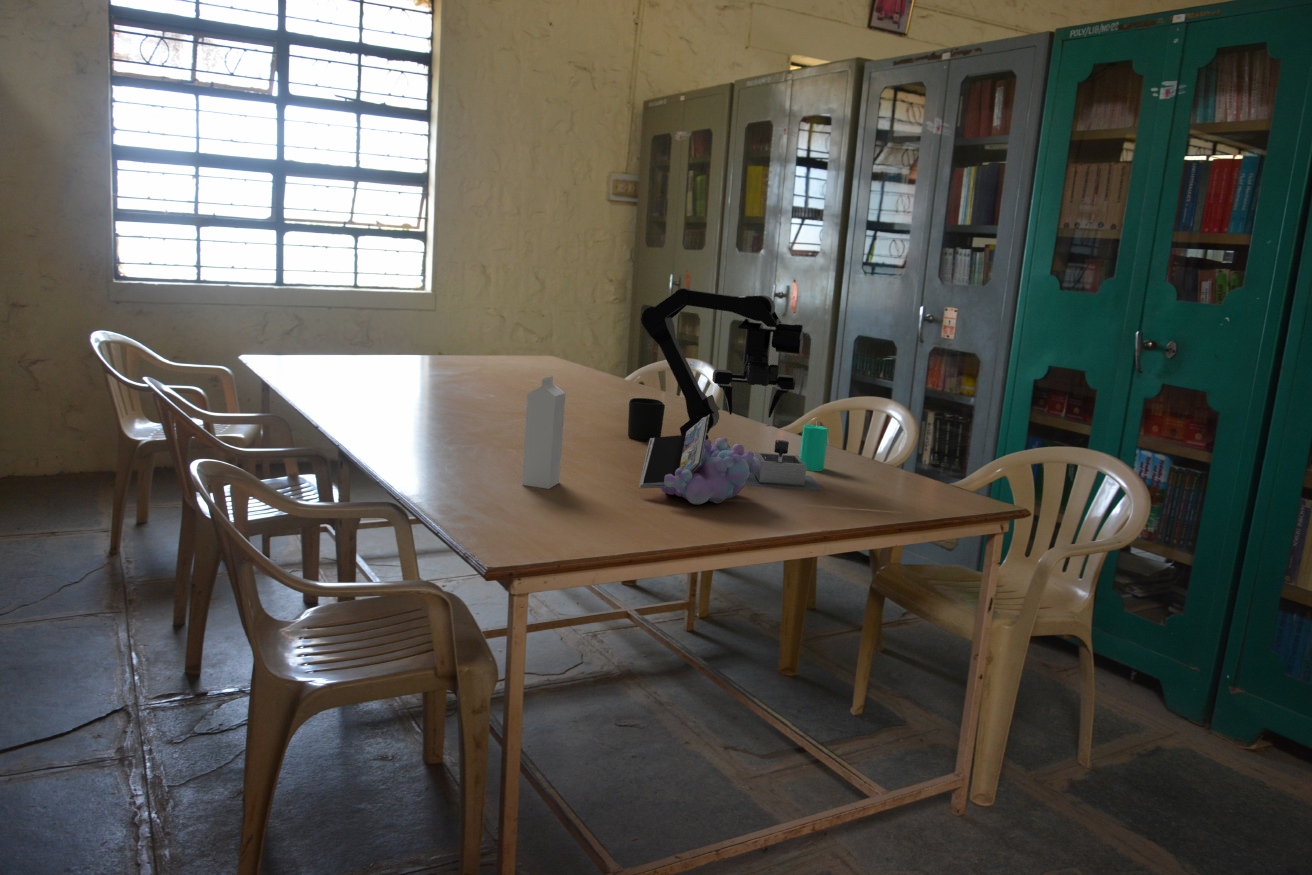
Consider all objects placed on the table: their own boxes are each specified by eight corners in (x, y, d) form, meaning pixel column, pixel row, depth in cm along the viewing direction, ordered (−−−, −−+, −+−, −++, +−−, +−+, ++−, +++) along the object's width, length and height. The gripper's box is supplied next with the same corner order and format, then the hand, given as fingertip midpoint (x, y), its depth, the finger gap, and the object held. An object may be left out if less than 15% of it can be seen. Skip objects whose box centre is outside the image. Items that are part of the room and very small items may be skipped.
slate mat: (742, 486, 206) (742, 484, 206) (734, 471, 220) (734, 470, 220) (823, 492, 207) (823, 490, 207) (810, 477, 221) (810, 475, 221)
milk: (521, 485, 190) (527, 377, 186) (532, 479, 196) (538, 373, 192) (549, 489, 189) (556, 380, 185) (560, 482, 195) (566, 377, 191)
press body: (746, 482, 208) (748, 460, 207) (740, 472, 218) (742, 451, 217) (803, 487, 209) (806, 465, 208) (795, 476, 218) (797, 455, 218)
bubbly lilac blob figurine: (783, 488, 187) (761, 404, 192) (702, 492, 174) (680, 402, 178) (718, 516, 202) (699, 438, 207) (638, 522, 189) (620, 438, 193)
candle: (823, 473, 226) (829, 424, 224) (798, 470, 227) (803, 421, 225) (823, 468, 232) (829, 420, 230) (799, 465, 233) (804, 417, 231)
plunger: (765, 479, 210) (769, 443, 208) (760, 472, 216) (764, 437, 215) (795, 482, 210) (800, 445, 208) (790, 475, 217) (794, 439, 215)
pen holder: (668, 439, 251) (671, 402, 249) (649, 443, 243) (652, 405, 242) (639, 433, 256) (642, 397, 254) (619, 437, 248) (622, 399, 246)
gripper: (720, 350, 211) (713, 418, 214) (803, 357, 212) (795, 425, 215) (715, 345, 222) (709, 410, 225) (793, 351, 223) (786, 416, 226)
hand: (749, 415), depth 222 cm, fingers open, 9 cm apart
